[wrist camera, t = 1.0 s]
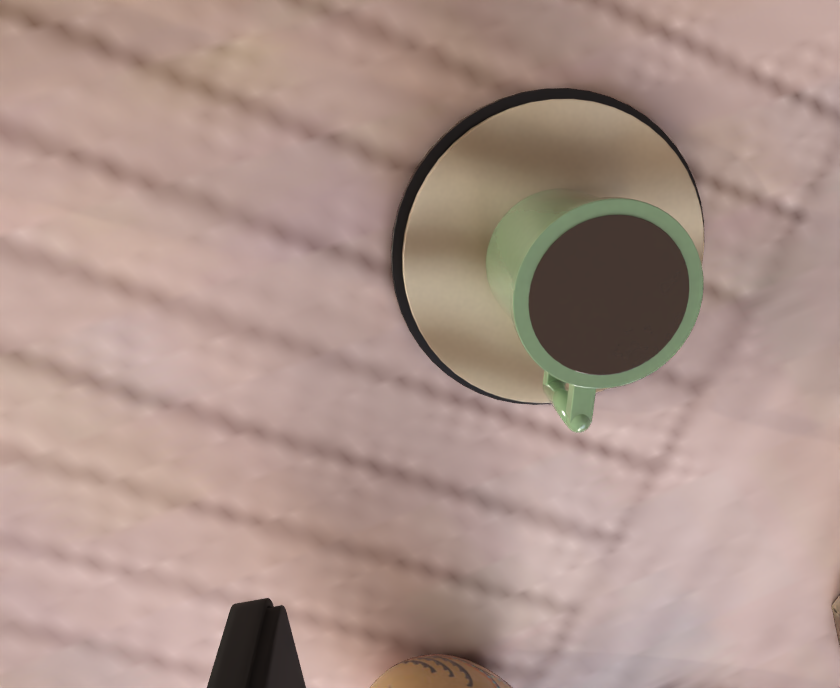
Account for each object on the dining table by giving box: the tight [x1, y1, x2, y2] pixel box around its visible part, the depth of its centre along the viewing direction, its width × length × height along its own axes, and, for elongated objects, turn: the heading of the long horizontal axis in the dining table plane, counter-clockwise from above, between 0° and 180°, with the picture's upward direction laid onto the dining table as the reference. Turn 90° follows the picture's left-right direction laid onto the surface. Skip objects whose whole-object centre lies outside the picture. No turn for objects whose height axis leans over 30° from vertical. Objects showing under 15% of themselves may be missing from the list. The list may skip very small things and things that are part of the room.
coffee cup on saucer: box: [402, 99, 704, 433], centre depth 31 cm, size 15×15×8 cm
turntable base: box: [391, 88, 704, 405], centre depth 36 cm, size 16×16×1 cm
